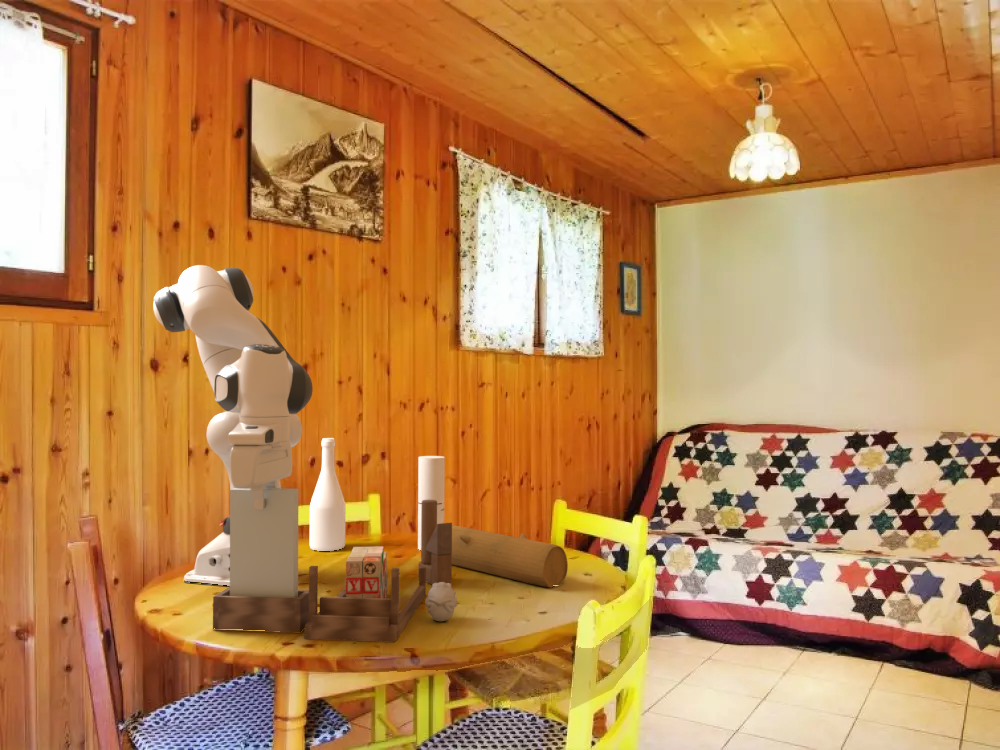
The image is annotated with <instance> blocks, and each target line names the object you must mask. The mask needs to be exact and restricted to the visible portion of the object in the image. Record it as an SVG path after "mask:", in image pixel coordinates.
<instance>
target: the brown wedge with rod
mask: <svg viewBox="0 0 1000 750" xmlns="http://www.w3.org/2000/svg"><path fill="white" fill-rule="evenodd" d="M452 525H453V523H452V522H444V523H441V524H437V501H436V500H423V501H422V519H421V551H420V552H421V554H420V560H421V561H419V562H418V569H419V568H420V567H426V583H428V584H431V586H432V585H433V584H434V583H439V582H445V583H450V584H451V585H452V570H453V569H452V568H453V566H452V555H451V554H452Z"/></svg>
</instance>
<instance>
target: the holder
mask: <svg viewBox="0 0 1000 750" xmlns="http://www.w3.org/2000/svg"><path fill="white" fill-rule="evenodd" d="M308 622H309V589H308V590H307V589H305V590H303V589H298V597H297V598H282V597H248V596H230V587H227V588H226V589H224V590H222V591H220V592H218V593H217V594H216V595H213V596H212V630H213V629H214V628H215V629H243V630H265V631H280V632H279V633H286V632H301V631H302V630H303V629H304V628H305V625H306V624H307V623H308ZM304 630H305V629H304ZM304 630H303V631H304ZM303 631H302V632H303ZM302 632H301V633H302Z"/></svg>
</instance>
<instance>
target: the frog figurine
mask: <svg viewBox="0 0 1000 750" xmlns="http://www.w3.org/2000/svg"><path fill="white" fill-rule="evenodd" d="M424 603H425V606H426V607H427V613H428V614H429V616H430V617H431V618H432V619H433V620H435V622H436V621H437V622H445V621H448V620H449V619H450V618H451V617H452V616H453V614H454V612H455V609H456V607H457V606H458V598H457V597H456V591H455V590H454V588H453V587H452V583H451V584H450V583H445V582H439V583H434V584H433V585H432V584H431V588H430V589H429V591H428V593H427V597H425V602H424Z"/></svg>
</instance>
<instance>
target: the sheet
mask: <svg viewBox="0 0 1000 750" xmlns="http://www.w3.org/2000/svg"><path fill="white" fill-rule="evenodd" d="M263 491H264V498H265V499H266V507H265V508H263V509H254V500H253V497H252V494H251V491H250V489H239V488H234V489H229V495H230V496H229V516H230V586H229V588H230V596H248V597H282V598H297V597H298V590H299V488H294V487H293V488H286V487H285V488H283V487H281V488H265V490H263Z"/></svg>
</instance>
